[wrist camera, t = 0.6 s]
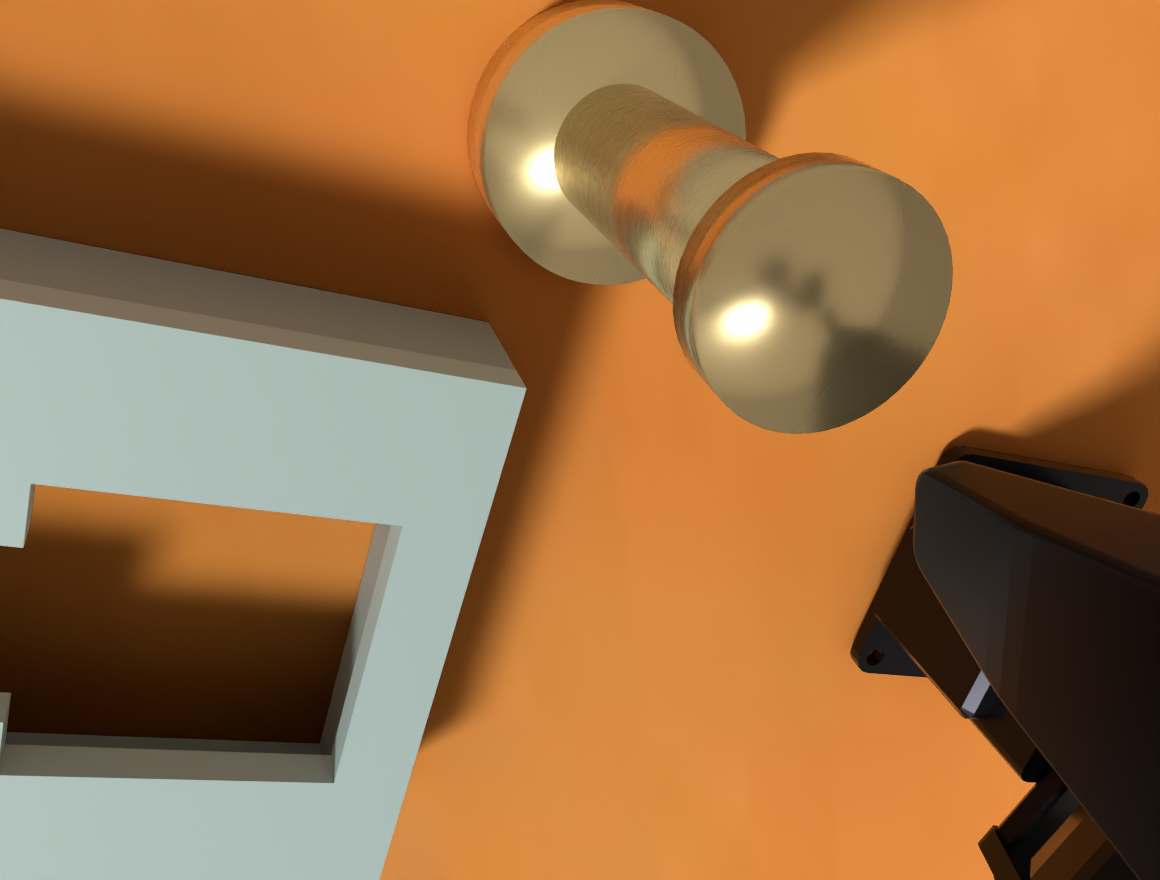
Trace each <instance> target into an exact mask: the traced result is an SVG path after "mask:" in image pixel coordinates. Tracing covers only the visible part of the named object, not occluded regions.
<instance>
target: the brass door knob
mask: <svg viewBox="0 0 1160 880" xmlns="http://www.w3.org/2000/svg"><path fill="white" fill-rule="evenodd" d="M467 138H468V152H469V159H470V164H471V169H472V173H473V176H474V179H475V182H476V185H477V187H478V189H479V191H480V193H481V195H482V197H483V199H484V201H485V203H486V205H487V206H488V208H489V209H490V210H491V212H492V213H493V215H494V216H495V218H496V219H497V220H498V222H499V223H500V224H501V225H502V227H503V228H504V229H505V231H506V232H507V233H508V235H509V236H510V237H511V239H512V240H513V241H514V242H515V243H516V244H517V245H518V247H519V248H520V249H521V250H522V251H523V252H524V253H525V254H526V255H527V256H529V257H530V258H531V259H532V260H533V261H535V262H536V263H537V264H539V265H540V266H542V267H544V268H545V269H547V270H548V271H550V272H552V273H555V274H557V275H559V276H561V277H564V278H566V279H570V280H573V281H577V282H581V283H588V284H595V285H615V284H623V283H630V282H634V281H638V280H641V279H645V278H647V279H648V280H649V281H650V282H651V283H652V284H653V285H654V286H655V287H656V288H657V289H658V290H659V291H660V292H661V293H662V294H663V295H664V296H665V297H666V298H667V299H668V300H669V301H670V302H671V303H672V304H673V316H674V325H675V329H676V333H677V337H678V341H679V343H680V346H681V348H682V350H683V353H684V355H685V357H686V358H687V360H688V362H689V363H690V365H691V367H692V368H693V369H694V370H695V372H696V373H697V374H698V375H699V376H700V377H701V379H702V380H703V381H704V382H705V383H706V384H707V385H708V386H709V387H710V388H711V389H712V391H713V392H714V393H715V394H716V395H717V396H718V397H719V398H720V399H721V400H722V401H723V402H724V404H725V405H726V406H727V407H729V408H730V409H731V410H732V411H733V412H734V413H736V414H737V415H738V416H740V417H741V418H743V419H744V420H746V421H748V422H749V423H751V424H754V425H756V426H759V427H761V428H763V429H767V430H771V431H775V432H780V433H791V434H802V433H814V432H820V431H826V430H829V429H833V428H836V427H840V426H842V425H845V424H847V423H849V422H852V421H854V420H856V419H858V418H860V417H862V416H864V415H866V414H868V413H869V412H871V411H873V410H874V409H875V408H877V407H878V406H880V405H881V404H883V403H884V402H885V401H887V400H888V399H889V398H890V397H891V396H893V395H894V394H895V393H896V392H897V391H898V390H899V389H900V388H901V387H902V386H903V385H904V384H905V383H906V382H907V381H908V380H909V379H910V378H911V377H912V376H913V374H914V373H915V372H916V370H917V369H918V368H919V367H920V365H921V364H922V363H923V361H924V360H925V358H926V356H927V355H928V353H929V352H930V350H931V349H932V347H933V345H934V343H935V341H936V339H937V337H938V335H939V333H940V330H941V327H942V325H943V322H944V320H945V317H946V313H947V309H948V306H949V302H950V296H951V289H952V275H953V266H952V256H951V249H950V245H949V241H948V237H947V234H946V232H945V229H944V227H943V224H942V222H941V220H940V218H939V217H938V215H937V213H936V212H935V210H934V209H933V207H932V206H931V205H930V204H929V203H928V201H927V200H926V199H925V198H924V197H923V196H922V195H921V194H920V193H919V192H917V191H916V190H915V189H914V188H913V187H911V186H910V185H908V184H906V183H904V182H903V181H901V180H899V179H897V178H895V177H893V176H891V175H889V174H887V173H885V172H882V171H880V170H878V169H876V168H874V167H872V166H870V165H868V164H865V163H863V162H861V161H858V160H856V159H853V158H850V157H848V156H843V155H838V154H833V153H818V152H815V153H804V154H797V155H793V156H789V157H784V158H781V159H779V158H777V157H775V156H773V155H771V154H770V153H768V152H766V151H764V150H762V149H760V148H758V147H756V146H755V145H753V144H751V143H749V142H747V141H746V126H745V115H744V110H743V105H742V100H741V97H740V94H739V91H738V88H737V85H736V82H735V80H734V78H733V76H732V74H731V72H730V70H729V68H728V66H727V65H726V63H725V62H724V60H723V59H722V57H721V56H720V55H719V53H718V52H717V51H716V50H715V49H714V48H713V46H712V45H711V44H710V43H709V42H708V41H707V40H706V39H705V38H703V37H702V36H701V35H700V34H699V33H697V32H696V31H695V30H694V29H692V28H690V27H689V26H687V25H685V24H684V23H682V22H680V21H678V20H676V19H674V18H671V17H669V16H666V15H664V14H661V13H658V12H655V11H652V10H649V9H647V8H644V7H641V6H638V5H635V4H632V3H628V2H624V1H619V0H576V1H572V2H567V3H564V4H561V5H558V6H555V7H552V8H550V9H548V10H546V11H544V12H542V13H540V14H538V15H536V16H534V17H533V18H531V19H530V20H529V21H527V22H526V23H524V24H523V25H522V26H520V27H519V28H518V29H517V30H516V31H515V32H514V33H512V34H511V35H510V36H509V37H508V38H507V39H506V40H505V41H504V43H503V44H502V45H501V46H500V47H499V49H498V50H497V51H496V52H495V54H494V55H493V57H492V58H491V60H490V61H489V63H488V65H487V66H486V68H485V70H484V72H483V74H482V76H481V78H480V80H479V83H478V85H477V88H476V91H475V94H474V97H473V100H472V104H471V109H470V115H469V120H468V137H467Z"/></svg>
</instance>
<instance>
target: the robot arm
mask: <svg viewBox="0 0 1160 880" xmlns="http://www.w3.org/2000/svg"><path fill="white" fill-rule="evenodd" d="M1147 497H1148V489H1147V487H1146V486H1145V485H1144V484H1142V483H1141V482H1139V481H1138V480H1137V479H1135V478H1133V477H1131V476H1128V475H1122V474H1116V473H1111V472H1105V471H1100V470H1094V469H1088V468H1083V467H1077V466H1071V465H1066V464H1060V463H1055V462H1049V461H1043V460H1038V459H1032V458H1026V457H1021V456H1015V455H1010V454H1004V453H998V452H993V451H987V450H981V449H976V448H970V447H965V446H961V447H955V448H953V449H950V450H949V451H948V452H946V453H945V454H944V455H943V456H942V458H941V459H940V461H939V463H938V465H937V466H936V467H932V468H928V469H925V470H923V471H922V472H921V473H920V475H919V476H918V478H917V481H916V487H915V509H914V516H913V518H912V520H911V522H910V524H909V526H908V528H907V531H906V533H905V535H904V537H903V539H902V541H901V543H900V545H899V548H898V550H897V552H896V554H895V556H894V558H893V560H892V562H891V565H890V567H889V569H888V571H887V573H886V575H885V577H884V579H883V582H882V584H881V586H880V588H879V590H878V592H877V594H876V596H875V599H874V601H873V603H872V605H871V607H870V609H869V611H868V613H867V616H866V618H865V620H864V622H863V624H862V626H861V628H860V630H859V633H858V635H857V637H856V639H855V641H854V643H853V645H852V648H851V652H850V653H851V658H852V659H853V661H854V662H855V663H856V664H857V666H858V667H859V668H860V669H861V670H862V671H863V672H867V673H877V674H890V675H903V676H917V677H928V678H929V679H930V681H931V682H932V683H933V684H934V685H935V686H936V688H937V689H938V690H939V691H940V692H941V693H942V694H943V696H944V697H945V698H946V699H947V700H948V701H949V703H950V704H951V705H952V706H953V707H954V708H955V710H956V711H957V712H958V713H959V714H960V715H961V716H962V717H964V718H965V719H970V721H971V722H972V723H973V724H974V725H975V726H976V727H977V729H978V730H979V731H980V732H981V733H982V734H983V735H984V737H985V738H986V739H987V740H988V741H989V742H990V744H991V745H992V746H993V747H994V748H995V749H996V750H997V752H998V753H999V754H1000V755H1001V756H1002V757H1003V758H1004V760H1005V761H1006V762H1007V763H1008V764H1009V765H1010V767H1011V768H1012V769H1013V770H1014V771H1015V772H1016V773H1017V775H1018V776H1019V777H1020V778H1021V779H1022V780H1023V781H1025V782H1036V784H1035V785H1034V786H1033V787H1032V788H1031V790H1030V791H1029V792H1028V793H1027V794H1026V795H1025V796H1024V798H1023V799H1022V800H1021V801H1020V802H1019V803H1018V804H1017V806H1016V807H1015V808H1014V809H1013V810H1012V811H1011V812H1010V814H1009V815H1008V816H1007V817H1006V818H1005V819H1004V821H1003V822H1002V823H1001V824H1000V825H999V826H995V825H993V826H992V828H991V829H990V830H989V831H988V832H987V833H986V834H985V836H984V837H983V838H982V839H981V840H980V841H979V843H978V845H979V847H980V849H981V851H982V853H983V855H984V857H985V859H986V861H987V863H988V865H989V867H990V869H991V871H992V873H993V875H994V879H995V880H1160V514H1156V513H1153V512H1149V511H1145V510H1142V508H1143V506H1144V504H1145V502H1146V500H1147ZM872 651H873V653H871V652H872ZM870 653H871V654H870Z"/></svg>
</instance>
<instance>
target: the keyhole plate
mask: <svg viewBox="0 0 1160 880" xmlns="http://www.w3.org/2000/svg"><path fill="white" fill-rule="evenodd" d="M526 389H527V388H526V386H525V385H524V383H523V381H522V379H521V378H520V376H519V374H518V372H517V371H516V369H515V367H514V365H513V364H512V362H511V360H510V358H509V357H508V355H507V353H506V351H505V350H504V348H503V346H502V344H501V343H500V341H499V339H498V337H497V336H496V334H495V332H494V330H493V329H492V327H491V325H490V323H489V322H485V321H480V320H474V319H469V318H464V317H459V316H454V315H448V314H443V313H438V312H433V311H428V310H422V309H417V308H412V307H407V306H402V305H396V304H391V303H386V302H381V301H376V300H370V299H365V298H360V297H355V296H349V295H344V294H339V293H334V292H329V291H323V290H318V289H313V288H308V287H303V286H297V285H292V284H287V283H282V282H277V281H271V280H266V279H261V278H256V277H251V276H245V275H240V274H235V273H230V272H225V271H219V270H214V269H209V268H204V267H199V266H193V265H188V264H183V263H178V262H173V261H167V260H162V259H157V258H152V257H146V256H141V255H136V254H131V253H126V252H120V251H115V250H110V249H105V248H100V247H94V246H89V245H84V244H79V243H74V242H68V241H63V240H58V239H53V238H48V237H42V236H37V235H32V234H27V233H22V232H16V231H11V230H6V229H1V228H0V546H9V547H19V548H23V547H24V544H25V541H26V537H27V534H28V530H29V527H30V524H31V517H32V509H33V500H34V491H35V484H39V485H47V486H56V487H65V488H73V489H82V490H91V491H100V492H108V493H117V494H126V495H134V496H143V497H152V498H161V499H169V500H178V501H187V502H196V503H204V504H213V505H222V506H230V507H239V508H248V509H257V510H265V511H274V512H283V513H291V514H300V515H309V516H318V517H326V518H335V519H344V520H353V521H361V522H370V523H376V525H375V529H374V533H373V537H372V541H371V545H370V549H369V552H368V556H367V560H366V564H365V568H364V572H363V576H362V580H361V584H360V588H359V592H358V595H357V599H356V603H355V607H354V611H353V615H352V619H351V623H350V627H349V631H348V635H347V639H346V642H345V646H344V650H343V654H342V658H341V662H340V666H339V670H338V674H337V678H336V682H335V685H334V689H333V693H332V697H331V701H330V705H329V709H328V713H327V717H326V721H325V725H324V729H323V732H322V736H321V740H320V744H316V743H289V742H262V741H235V740H208V739H181V738H154V737H127V736H100V735H74V734H47V733H20V732H7V723H8V715H9V706H10V697H11V693H7V692H0V880H379V879H380V876H381V872H382V869H383V866H384V862H385V859H386V856H387V852H388V849H389V846H390V842H391V839H392V836H393V832H394V829H395V826H396V822H397V819H398V816H399V812H400V809H401V806H402V802H403V799H404V796H405V792H406V789H407V786H408V782H409V779H410V776H411V772H412V769H413V766H414V762H415V759H416V756H417V752H418V749H419V746H420V742H421V739H422V736H423V732H424V729H425V726H426V722H427V719H428V716H429V712H430V709H431V706H432V702H433V699H434V696H435V692H436V689H437V686H438V682H439V679H440V676H441V672H442V669H443V666H444V662H445V659H446V656H447V652H448V649H449V646H450V642H451V639H452V636H453V632H454V629H455V626H456V622H457V619H458V616H459V612H460V609H461V606H462V602H463V599H464V596H465V592H466V589H467V586H468V582H469V579H470V576H471V572H472V569H473V566H474V562H475V559H476V556H477V552H478V549H479V546H480V542H481V539H482V536H483V532H484V529H485V526H486V522H487V519H488V516H489V512H490V509H491V506H492V502H493V499H494V496H495V492H496V489H497V486H498V482H499V479H500V476H501V472H502V469H503V466H504V462H505V459H506V456H507V452H508V449H509V446H510V442H511V439H512V436H513V432H514V429H515V426H516V422H517V419H518V416H519V412H520V409H521V406H522V402H523V399H524V396H525V392H526Z"/></svg>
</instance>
